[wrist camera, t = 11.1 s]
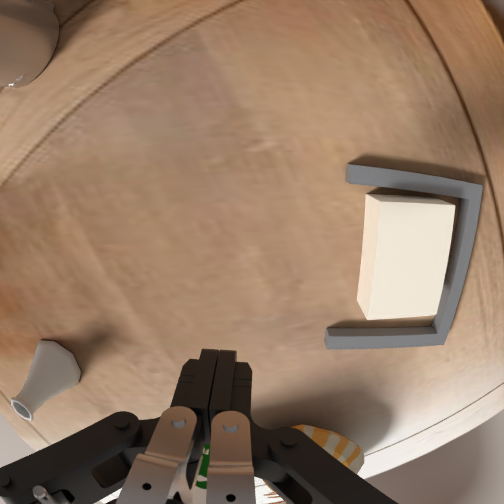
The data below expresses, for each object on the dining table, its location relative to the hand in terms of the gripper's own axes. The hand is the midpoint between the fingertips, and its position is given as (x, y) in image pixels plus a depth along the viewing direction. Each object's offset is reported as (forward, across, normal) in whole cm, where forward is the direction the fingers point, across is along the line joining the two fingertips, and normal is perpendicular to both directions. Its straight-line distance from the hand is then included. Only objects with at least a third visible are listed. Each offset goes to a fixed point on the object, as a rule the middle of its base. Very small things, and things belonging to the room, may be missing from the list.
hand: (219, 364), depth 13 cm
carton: (+15, -14, -1) cm, 21 cm away
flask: (+16, +24, +16) cm, 33 cm away
